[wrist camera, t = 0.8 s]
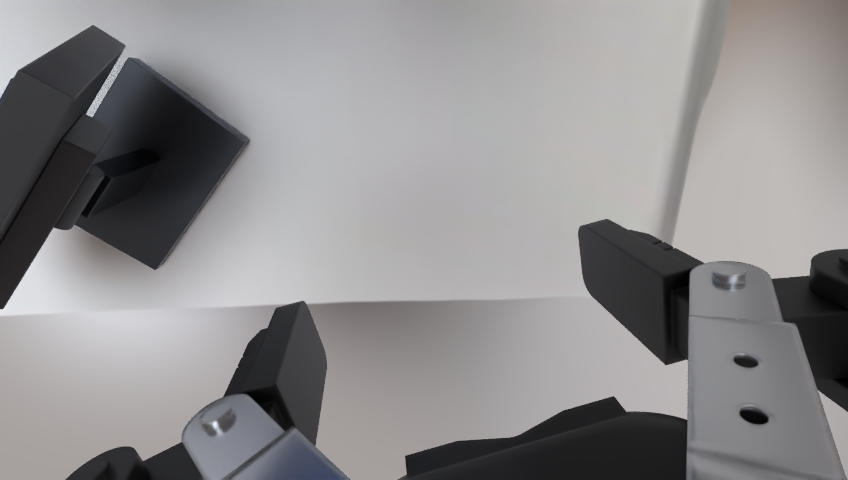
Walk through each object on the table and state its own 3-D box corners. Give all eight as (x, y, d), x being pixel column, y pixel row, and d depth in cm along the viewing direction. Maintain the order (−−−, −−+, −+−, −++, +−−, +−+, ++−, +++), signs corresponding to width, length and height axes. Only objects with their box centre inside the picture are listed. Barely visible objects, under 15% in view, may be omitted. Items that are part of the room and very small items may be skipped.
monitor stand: (50, 200, 32) (-37, 233, 25) (137, 57, 29) (66, 51, 22) (162, 264, 35) (111, 310, 28) (250, 139, 32) (218, 155, 25)
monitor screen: (-45, 260, 26) (-172, 411, 17) (90, 22, 22) (14, 66, 14) (35, 282, 28) (-42, 425, 20) (168, 71, 25) (143, 134, 16)
